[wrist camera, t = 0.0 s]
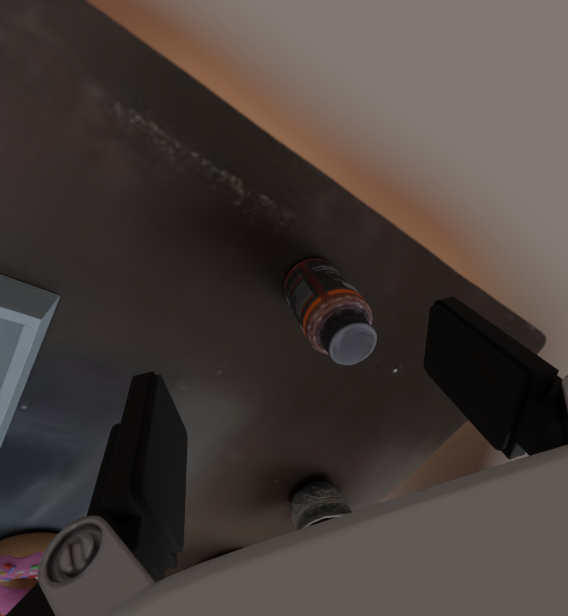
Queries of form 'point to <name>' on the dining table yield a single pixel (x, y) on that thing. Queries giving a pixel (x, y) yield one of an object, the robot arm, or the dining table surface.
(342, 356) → the supplement bottle
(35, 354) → the blue-grey tray
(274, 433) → the dining table surface
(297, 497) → the mug
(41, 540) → the donut
